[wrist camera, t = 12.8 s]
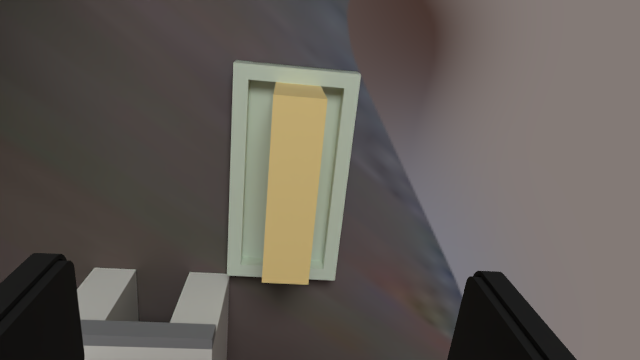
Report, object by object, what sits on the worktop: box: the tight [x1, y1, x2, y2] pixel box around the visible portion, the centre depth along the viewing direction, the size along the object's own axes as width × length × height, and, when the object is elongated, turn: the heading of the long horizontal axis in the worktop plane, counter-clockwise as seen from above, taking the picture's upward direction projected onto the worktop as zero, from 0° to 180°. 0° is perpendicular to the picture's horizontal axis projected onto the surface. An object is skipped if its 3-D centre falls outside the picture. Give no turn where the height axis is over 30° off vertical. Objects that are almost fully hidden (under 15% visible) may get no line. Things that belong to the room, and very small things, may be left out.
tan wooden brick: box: [262, 82, 328, 285], centre depth 29 cm, size 12×3×6 cm, turn 174°
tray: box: [227, 60, 361, 281], centre depth 32 cm, size 16×8×2 cm, turn 174°
